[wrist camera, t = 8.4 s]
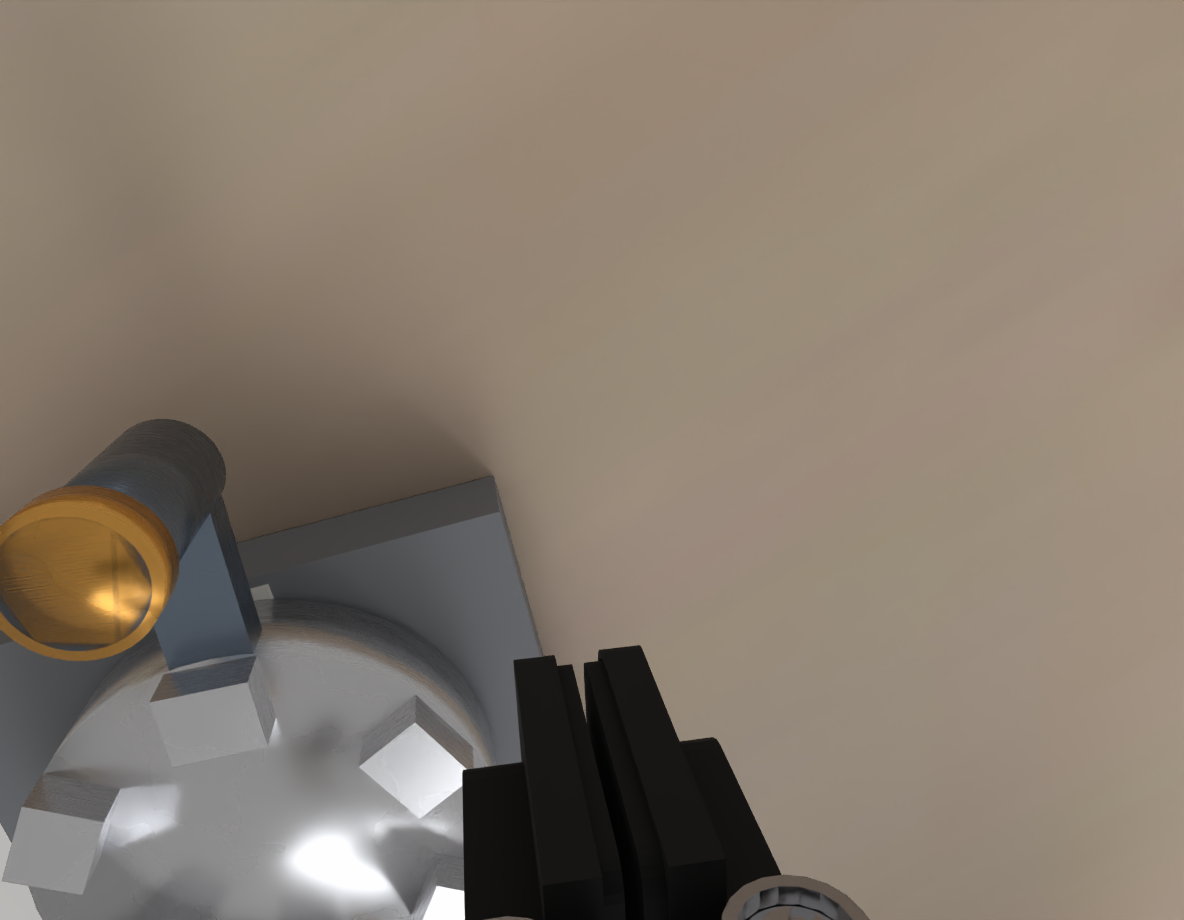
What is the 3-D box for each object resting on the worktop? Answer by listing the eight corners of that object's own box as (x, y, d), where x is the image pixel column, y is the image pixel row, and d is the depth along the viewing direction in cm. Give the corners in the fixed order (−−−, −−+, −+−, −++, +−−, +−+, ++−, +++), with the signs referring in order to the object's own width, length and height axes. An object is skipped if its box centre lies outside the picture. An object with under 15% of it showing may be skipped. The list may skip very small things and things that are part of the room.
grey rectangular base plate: (584, 803, 33) (599, 869, 30) (137, 935, 31) (105, 1018, 28) (493, 475, 28) (500, 514, 25) (-33, 613, 27) (-92, 672, 24)
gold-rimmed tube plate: (524, 890, 29) (553, 1134, 22) (143, 980, 28) (41, 1270, 21) (410, 351, 23) (397, 442, 16) (-84, 436, 22) (-342, 577, 15)
